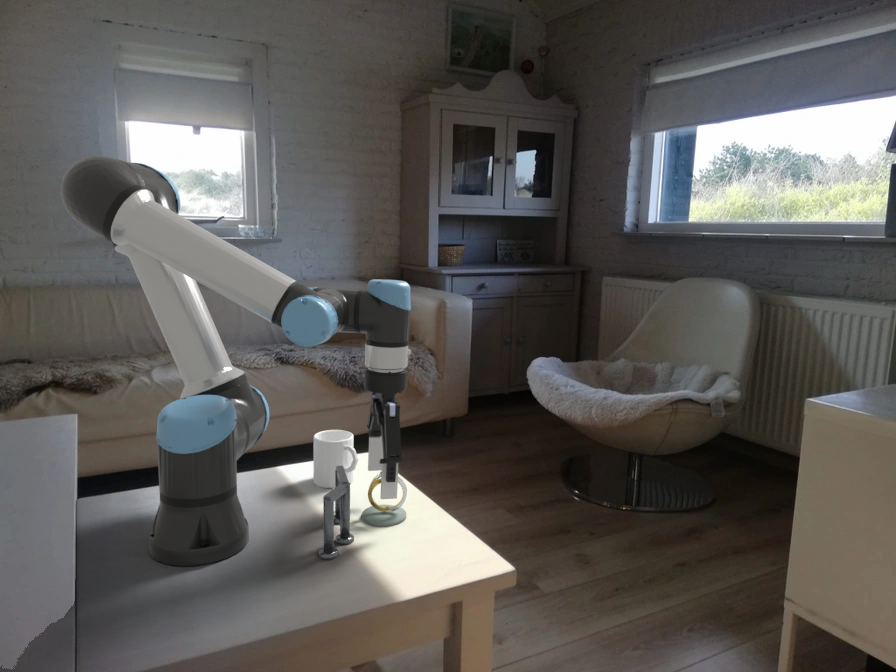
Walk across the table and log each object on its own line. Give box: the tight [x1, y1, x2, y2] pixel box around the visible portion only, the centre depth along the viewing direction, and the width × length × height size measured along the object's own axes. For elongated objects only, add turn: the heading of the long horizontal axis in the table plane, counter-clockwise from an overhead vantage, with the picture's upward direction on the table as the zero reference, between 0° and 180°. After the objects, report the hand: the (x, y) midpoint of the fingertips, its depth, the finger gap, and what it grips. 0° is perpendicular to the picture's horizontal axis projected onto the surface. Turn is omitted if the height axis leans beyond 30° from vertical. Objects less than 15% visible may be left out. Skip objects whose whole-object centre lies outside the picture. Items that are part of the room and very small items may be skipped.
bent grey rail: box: [318, 466, 355, 561], centre depth 109 cm, size 8×15×10 cm, turn 161°
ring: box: [367, 470, 408, 514], centre depth 118 cm, size 7×3×8 cm, turn 90°
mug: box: [313, 429, 359, 489], centre depth 133 cm, size 8×12×10 cm
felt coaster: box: [361, 504, 407, 527], centre depth 118 cm, size 8×8×1 cm
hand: (381, 483), depth 117 cm, fingers open, 13 cm apart
